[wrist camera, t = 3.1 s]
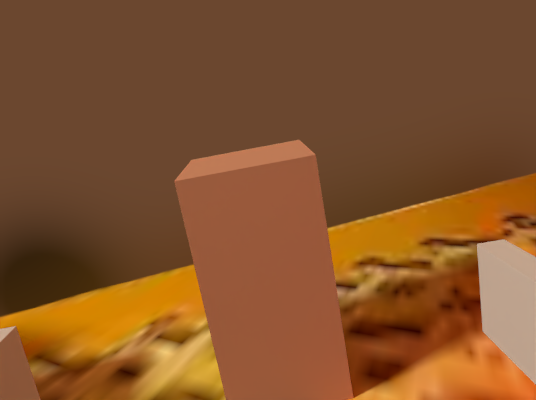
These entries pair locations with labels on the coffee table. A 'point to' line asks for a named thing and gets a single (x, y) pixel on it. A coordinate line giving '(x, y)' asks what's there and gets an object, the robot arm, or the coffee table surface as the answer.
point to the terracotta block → (266, 273)
